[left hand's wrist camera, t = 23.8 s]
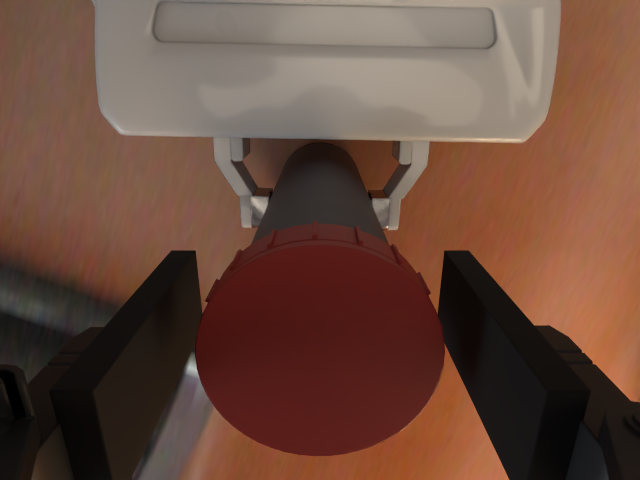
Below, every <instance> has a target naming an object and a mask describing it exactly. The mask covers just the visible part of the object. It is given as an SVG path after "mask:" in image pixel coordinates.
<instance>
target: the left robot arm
mask: <svg viewBox="0 0 640 480" xmlns="http://www.w3.org/2000/svg"><path fill="white" fill-rule="evenodd" d="M201 317H202V307H201V297H200V288H199V279H198V269H197V260H196V251H171V252H170V253H169V254H168V255H167V256H166V257H165V259H164V260H163V261H162V262H161V263H160V264H159V265H158V267H157V268H156V269H155V270H154V271H153V272H152V273H151V275H150V276H149V277H148V278H147V279H146V280H145V281H144V283H143V284H142V285H141V286H140V287H139V288H138V289H137V291H136V292H135V293H134V294H133V295H132V296H131V297H130V299H129V300H128V301H127V302H126V303H125V304H124V305H123V307H122V308H121V309H120V310H119V311H118V312H117V313H116V315H115V316H114V317H113V318H112V319H111V320H110V321H109V323H108V324H107V325H106V326H105V327H90V328H89V329H87V330H85V331H83V332H82V333H80V334H78V335H77V336H75V337H73V338H72V339H71V340H70V341H69V342H68V343H67V344H66V345H65V346H64V347H63V348H62V349H61V350H60V351H59V354H58V355H55V356H54V357H53V358H52V359H51V361H50V362H49V363H48V366H45V367H44V368H43V369H42V370H41V371H40V372H39V373H38V374H37V375H36V376H35V377H34V378H33V379H32V380H31V381H30V382H29V383H28V384H27V382H26V378H25V375H24V371H23V370H22V369H20V368H19V367H17V366H14V365H6V364H1V365H0V480H131V478H132V475H133V473H134V471H135V469H136V467H137V465H138V463H139V461H140V459H141V456H142V454H143V452H144V450H145V448H146V446H147V444H148V442H149V440H150V438H151V435H152V433H153V431H154V429H155V427H156V425H157V423H158V421H159V419H160V416H161V414H162V412H163V410H164V408H165V406H166V404H167V402H168V400H169V398H170V395H171V393H172V391H173V389H174V387H175V385H176V383H177V381H178V379H179V377H180V374H181V372H182V370H183V368H184V366H185V364H186V362H187V360H188V358H189V355H190V353H191V351H192V349H193V347H194V345H195V341H196V334H197V330H198V326H199V323H200V320H201ZM438 318H439V320H440V322H441V324H442V326H443V330H442V331H443V336H444V343H445V345H446V347H447V349H448V351H449V353H450V355H451V358H452V360H453V362H454V364H455V366H456V368H457V370H458V372H459V374H460V377H461V379H462V381H463V383H464V385H465V387H466V389H467V391H468V393H469V395H470V398H471V400H472V402H473V404H474V406H475V408H476V410H477V412H478V414H479V416H480V419H481V421H482V423H483V425H484V427H485V429H486V431H487V433H488V435H489V438H490V440H491V442H492V444H493V446H494V448H495V450H496V452H497V454H498V456H499V459H500V461H501V463H502V465H503V467H504V469H505V471H506V473H507V475H508V478H509V480H640V402H632V401H630V400H629V399H628V398H627V397H626V396H625V395H624V394H623V393H622V392H621V390H620V389H619V388H618V387H617V386H616V385H615V384H614V383H613V382H612V381H611V380H610V379H609V378H608V377H607V376H606V375H605V374H604V373H603V372H602V371H601V370H600V369H599V368H598V367H597V366H596V365H593V363H592V361H591V360H590V359H589V358H588V356H587V355H586V354H585V353H582V350H581V349H580V348H579V347H578V346H577V345H576V344H575V343H574V342H573V341H572V340H571V339H570V338H569V337H568V336H566V335H564V334H563V333H561V332H559V331H558V330H556V329H554V328H553V327H551V326H534V325H533V324H532V323H531V321H530V320H529V319H528V318H527V317H526V316H525V315H524V313H523V312H522V311H521V310H520V309H519V308H518V307H517V305H516V304H515V303H514V302H513V301H512V300H511V299H510V297H509V296H508V295H507V294H506V293H505V292H504V291H503V289H502V288H501V287H500V286H499V285H498V284H497V283H496V281H495V280H494V279H493V278H492V277H491V276H490V275H489V273H488V272H487V271H486V270H485V269H484V268H483V267H482V265H481V264H480V263H479V262H478V261H477V260H476V259H475V257H474V256H473V255H472V254H471V253H470V252H469V251H444V260H443V269H442V279H441V288H440V297H439V307H438Z"/></svg>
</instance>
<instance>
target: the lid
mask: <svg viewBox="0 0 640 480" xmlns="http://www.w3.org/2000/svg"><path fill="white" fill-rule="evenodd" d="M429 294H431V293H430V291H429V289H428V287H427V285H426V283H425V281H424V279H423V277H422V275H421V274H420V272H418V273H416V272H415V270H414V269H413V268H412V266H411V265H410V264H409V263H408V261H407V260H406V259H405V258H404V257H403V256H402V255H401V254H400V253H399V252H398V250H397V247H396V246H395V245H394V244H392V245H391V246H390V245H388V244H387V243H386V242H384V241H382V240H380V239H379V238H377V237H375V236H373V235H371V234H369V233H366V232H363V231H361V230H360V227H358V226H355V228H350V227H346V226H342V225H333V224H318V223H317V221H313V224H306V225H299V226H293V227H289V228H286V229H282V230H279V231H276V229H273V230H271V234H269V235H267V236H265V237H263V238H261V239H260V240H258V241H256V242H254V243H253V244H251V245H250V246H249V247H247V248H246V249H245V250H244V251H241V250H239V251H238V252H237V254H236V256H235V258H234V260H233V261H232V262H231V263H230V265H229V266H228V268H227V269H226V270H225V272H224V273H223V275H222V277H221V279H220V280H218V279H216V281H215V283H214V285H213V287H212V289H211V290H210V292H209V294H208V296H207V298H206V300H205V301H206V302H208V304H207V306H206V308H205V310H204V312H203V314H202V317H201V320H200V323H199V326H198V330H197V334H196V341H195V357H196V364H197V370H198V374H199V377H200V381H201V383H202V386H203V388H204V390H205V392H206V394H207V396H208V398H209V399H210V401H211V402H212V404H213V405H214V407H215V408H216V409H217V410H218V412H219V413H220V414H221V415H222V416H223V417H224V418H225V419H226V420H227V421H228V422H229V423H230V424H231V425H232V426H233V427H235V428H236V429H237V430H239V431H240V432H242V433H243V434H244V435H246V436H248V437H250V438H251V439H253V440H255V441H257V442H259V443H261V444H264V445H266V446H268V447H271V448H274V449H277V450H280V451H284V452H288V453H293V454H298V455H308V456H332V455H341V454H347V453H352V452H356V451H360V450H363V449H366V448H369V447H372V446H374V445H377V444H379V443H381V442H383V441H385V440H387V439H389V438H390V437H392V436H394V435H395V434H397V433H399V432H400V431H401V430H403V429H404V428H405V427H406V426H408V425H409V424H410V423H411V422H412V421H413V420H414V419H415V418H416V417H417V416H418V415H419V414H420V413H421V412H422V410H423V409H424V408H425V407H426V405H427V404H428V402H429V401H430V399H431V397H432V396H433V394H434V392H435V390H436V388H437V385H438V383H439V381H440V377H441V373H442V369H443V365H444V355H445V346H444V336H443V331H442V330H443V326H442V324H441V322H440V320H439V318H438V315H437V312H436V310H435V308H434V306H433V304H432V302H431V300H430V298H429V296H428V295H429Z"/></svg>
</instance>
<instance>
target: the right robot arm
mask: <svg viewBox="0 0 640 480" xmlns="http://www.w3.org/2000/svg"><path fill="white" fill-rule="evenodd" d="M91 1H92V3H93V5H94V7H95V69H96V83H97V94H98V102H99V107H100V111H101V113H102V115H103V116H104V117H105V118H106V120H107V121H108V122H109V123H110V124H111V125H112V126H113V128H114V129H115V130H116V131H117V132H118V133H120V134H121V135H128V136H176V137H213V141H214V156H215V162H216V164H217V165H218V167H219V168H220V170H221V171H222V173H223V174H224V176H225V178H226V179H227V181H228V182H229V184H230V185H231V187H232V188H233V190H234V191H235V193H236V194H237V195H239V196H240V210H241V225H242V227H246V228H258V227H259V225H260V222H261V220H262V217H263V215H264V213H265V210H266V208H267V206H268V203H269V201H270V198H271V196H272V194H273V188H257V185H256V183H255V182H254V180H253V178H252V177H251V175H250V173H249V171H248V170H247V168H246V166H245V165H244V163H243V161H242V160H243V159H244V158H245V157H246V156H247V155H248V154H249V153H250V138H279V139H330V140H382V141H393V149H392V155H393V157H394V158H395V159H396V160H397V161H398V162H399V163H400V164H399V165H398V167H397V168H396V170H395V172H394V173H393V175H392V176H391V178H390V179H389V181H388V182H387V184H386V186H385V187H384V189H383V190H368V196H369V198H370V201H371V203H372V205H373V208H374V210H375V213H376V215H377V217H378V220H379V222H380V225H381V227H382V229H383V230H397V229H398V226H399V216H400V204H401V199H402V198H404V197H405V196H406V194H407V193H408V192H409V190H410V189H411V187H412V186H413V185H414V183H415V182H416V180H417V179H418V178H419V176H420V175H421V173H422V172H423V171H424V169H425V168H426V167H427V162H428V153H429V144H430V141H434V142H485V143H522V142H525V141H526V140H527V139H528V138H529V137H531V136H532V135H533V133H534V132H535V131H536V130H537V129H538V128H539V127H540V126H541V125H542V124H543V122H544V121H545V119H546V117H547V114H548V110H549V106H550V102H551V96H552V91H553V85H554V79H555V72H556V64H557V56H558V46H559V35H560V22H561V0H91Z"/></svg>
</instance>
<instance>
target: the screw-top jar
mask: <svg viewBox="0 0 640 480" xmlns="http://www.w3.org/2000/svg"><path fill="white" fill-rule="evenodd" d="M313 221H317V223H318V224H333V225H342V226H346V227H350V228H355V226H358V227H360V230H361V231H363V232H366V233H369V234H371V235H373V236H375V237H377V238H379V239H380V240H382V241H384V242H386V243H387V244H388V241H387V239H386V237H385V234H384V232H383V229H382V227H381V225H380V222H379V220H378V217H377V215H376V213H375V210H374V208H373V205H372V203H371V201H370V198H369V196H368V193H367V191H366V189H365V186H364V184H363V182H362V179H361V177H360V174H359V172H358V170H357V167H356V165H355V163H354V161H353V160H352V158H351V157H350V156H349V155H348V154H347V153H346V152H345V151H343V150H342V149H340V148H339V147H337V146H334V145H331V144H327V143H314V144H309V145H306V146H304V147H302V148H300V149H298V150H297V151H296V152H294V153H293V154H292V155H291V156H290V157H289V159H288V160H287V162H286V164H285V165H284V168H283V170H282V172H281V175H280V177H279V179H278V182H277V184H276V187H275V189H274V191H273V194H272V196H271V198H270V201H269V203H268V206H267V208H266V210H265V213H264V215H263V217H262V220H261V222H260V225H259V227H258V229H257V232H256V234H255V236H254V239H253V241H252V244H253V243H254V242H256V241H258V240H260V239H261V238H263V237H265V236H267V235H269V234H271V230H273V229H276V231H279V230H282V229H286V228H289V227H293V226H299V225H306V224H313ZM388 245H389V244H388Z"/></svg>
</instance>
